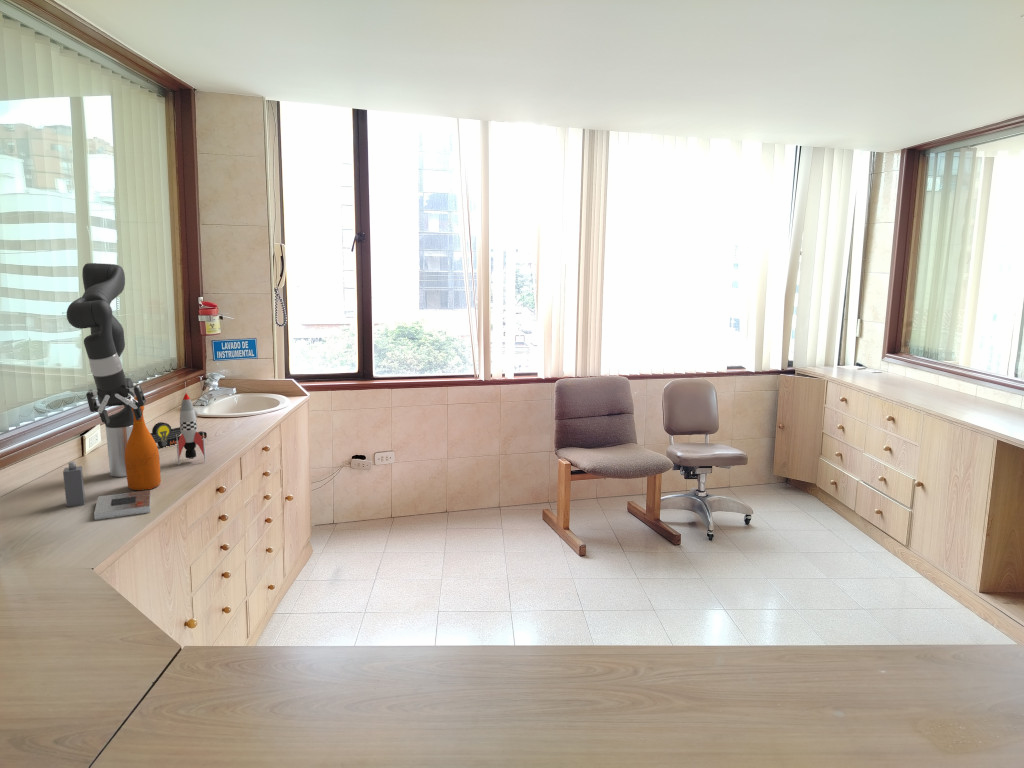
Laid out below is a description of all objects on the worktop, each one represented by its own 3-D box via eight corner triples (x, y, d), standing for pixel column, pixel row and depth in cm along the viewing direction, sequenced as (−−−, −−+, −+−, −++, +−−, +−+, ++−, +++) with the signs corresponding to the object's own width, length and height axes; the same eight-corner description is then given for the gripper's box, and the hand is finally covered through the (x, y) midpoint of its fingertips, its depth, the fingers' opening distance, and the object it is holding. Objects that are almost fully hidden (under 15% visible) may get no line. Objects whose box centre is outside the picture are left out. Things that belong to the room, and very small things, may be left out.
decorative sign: (143, 452, 264) (140, 427, 262) (140, 451, 265) (137, 426, 263) (206, 438, 286) (205, 414, 284) (203, 437, 287) (202, 414, 286)
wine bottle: (167, 482, 228) (160, 394, 223) (149, 492, 219) (141, 400, 214) (140, 481, 229) (132, 393, 224) (120, 490, 220) (112, 399, 215)
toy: (207, 461, 252) (202, 381, 247) (186, 467, 245) (180, 385, 240) (193, 457, 257) (187, 379, 252) (171, 463, 250) (165, 382, 245)
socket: (98, 502, 209) (98, 494, 208) (150, 496, 215) (149, 488, 215) (94, 520, 195) (93, 511, 194) (150, 512, 201) (149, 504, 201)
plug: (66, 507, 205) (62, 465, 203) (68, 502, 209) (64, 461, 207) (84, 504, 207) (79, 463, 205) (85, 500, 211) (81, 459, 209)
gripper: (138, 362, 197) (152, 412, 204) (84, 367, 195) (101, 418, 201) (130, 372, 190) (145, 423, 197) (74, 378, 188) (92, 430, 195)
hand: (123, 421), depth 199 cm, fingers open, 8 cm apart
